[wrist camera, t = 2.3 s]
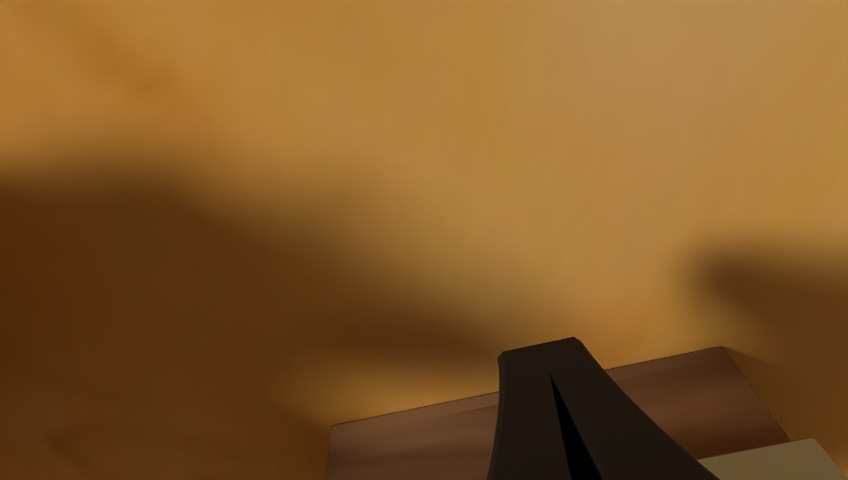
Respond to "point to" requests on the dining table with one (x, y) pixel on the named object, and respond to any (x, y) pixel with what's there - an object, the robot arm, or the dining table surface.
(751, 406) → the walnut box
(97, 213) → the dining table surface
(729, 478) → the lid
